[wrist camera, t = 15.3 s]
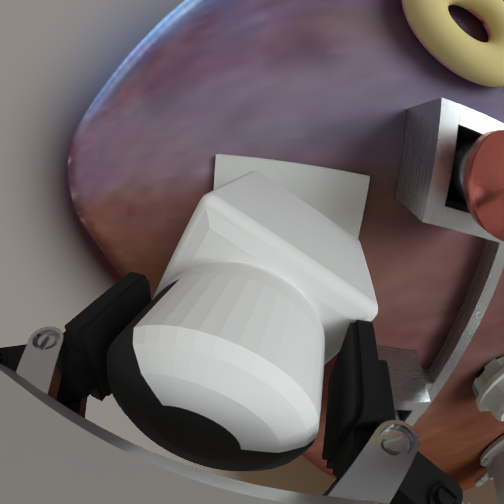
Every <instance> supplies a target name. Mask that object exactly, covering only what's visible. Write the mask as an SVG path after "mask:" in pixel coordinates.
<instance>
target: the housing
mask: <svg viewBox="0 0 504 504" xmlns="http://www.w3.org/2000/svg"><path fill="white" fill-rule="evenodd" d="M496 129H498V130H504V124H503V123H501V122H499V121H497V120H495V119H493V118H491V117H489V116H486V115H484V114H482V113H480V112H477V111H475V110H473V109H470V108H468V107H465V106H463V105H460V104H458V103H455V102H452V101H450V100H447V99H444V98H439V99H436V100H432V101H429V102H426V103H423V104H420V105H417V106H414V107H411V108H408V109H407V118H406V127H405V136H404V143H403V150H402V157H401V163H400V169H399V175H398V181H397V186H396V191H395V196H394V197H395V198H397V199H398V200H399V201H400V202H401V203H402V204H403V205H404V206H405V207H407V208H408V209H409V210H410V211H411V212H412V213H413V214H414V215H415V216H416V217H417V218H418V219H419V220H420V221H422V222H424V223H428V224H432V225H436V226H440V227H444V228H448V229H452V230H456V231H460V232H464V233H467V234H471V235H475V236H478V237H482V238H485V239H486V241H485V244H484V247H483V250H482V253H481V256H480V259H479V262H478V265H477V268H476V271H475V273H474V276H473V279H472V281H471V284H470V286H469V289H468V291H467V294H466V296H465V299H464V301H463V303H462V306H461V308H460V310H459V312H458V315H457V317H456V319H455V321H454V323H453V325H452V327H451V329H450V331H449V333H448V335H447V337H446V339H445V341H444V343H443V345H442V347H441V349H440V351H439V352H438V354H437V356H436V358H435V360H434V361H433V363H432V365H431V366H430V368H429V369H426V368H421V365H420V361H419V358H418V354H417V351H416V350H408V349H399V348H391V347H383V346H377V352H378V358H379V360H385V361H386V362H387V364H388V369H389V375H390V381H391V388H392V395H393V402H394V410H398V414H399V420H400V421H403V422H406V423H408V424H409V425H411V426H413V424H414V423H415V422H416V421H417V419H418V418H419V417H420V416H421V415H422V414H423V413H424V412H425V410H426V409H427V408H428V406H429V405H430V404H431V402H432V401H433V400H434V398H435V397H436V395H437V394H438V393H439V391H440V390H441V388H442V387H443V385H444V384H445V382H446V381H447V379H448V378H449V376H450V375H451V373H452V371H453V370H454V368H455V367H456V365H457V363H458V362H459V360H460V358H461V357H462V355H463V353H464V351H465V350H466V348H467V346H468V344H469V342H470V341H471V339H472V337H473V335H474V333H475V331H476V329H477V327H478V325H479V323H480V321H481V319H482V317H483V315H484V313H485V311H486V309H487V307H488V304H489V302H490V300H491V298H492V295H493V293H494V291H495V288H496V286H497V283H498V281H499V278H500V275H501V273H502V270H503V267H504V241H501V240H499V239H497V238H495V237H494V236H492V235H491V234H490V233H488V232H487V231H485V230H484V229H483V228H481V227H480V226H479V225H478V224H477V223H476V221H475V220H474V219H473V217H472V215H471V213H470V211H469V209H468V206H467V204H466V201H464V200H462V199H461V198H460V199H459V198H455V197H452V196H449V195H447V193H448V188H449V183H450V178H451V172H452V166H453V160H454V154H455V147H456V139H459V140H462V141H464V142H474V143H475V141H476V140H477V139H478V138H479V137H480V136H481V135H483V134H484V133H486V132H488V131H491V130H496Z"/></svg>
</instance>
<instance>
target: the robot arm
mask: <svg viewBox="0 0 504 504" xmlns="http://www.w3.org/2000/svg"><path fill="white" fill-rule="evenodd" d="M150 302H151V295H150V284H149V281H148V280H147V279H146V277H145V276H144V275H142V274H138V273H134V272H130V273H129V274H127V275H126V276H125V277H124V278H122V279H121V280H120V281H119V282H117V283H116V284H115V285H114V286H112V287H111V288H110V289H109V290H107V291H106V292H105V293H104V294H102V295H101V296H100V297H99V298H97V299H96V300H95V301H94V302H93V303H91V304H90V305H89V306H88V307H87V308H85V309H84V310H83V311H82V312H81V313H79V314H78V315H77V316H76V317H75V318H74V319H72V320H71V321H70V322H69V323H67V324H66V325H65V329H66V331H65V332H64V333H62V332H61V330H60V329H58V328H55V327H44V328H41V329H39V330H37V331H35V332H34V333H33V334H32V335H31V337H30V339H29V341H28V343H27V344H26V345H19V346H11V347H4V348H0V504H464V503H463V502H462V499H463V494H462V490H461V487H460V486H459V484H458V483H457V482H456V481H454V480H453V479H452V478H451V477H449V476H448V475H447V474H446V473H444V472H443V471H442V470H440V469H439V468H438V467H437V466H435V465H434V464H433V463H432V462H431V461H429V460H428V459H427V458H426V457H424V456H423V455H422V454H421V453H419V452H418V448H419V444H420V441H419V436H418V434H417V431H416V430H415V429H414V428H413V427H412V426H411V425H409V424H408V423H406V422H403V421H400V420H396V418H395V410H394V402H393V395H392V388H391V381H390V375H389V369H388V364H387V362H386V361H385V360H379V358H378V352H377V346H376V339H375V334H374V328H373V323H372V322H370V321H364V320H358V319H357V320H356V321H355V323H350V324H349V326H348V329H347V332H346V335H345V338H344V341H343V344H342V347H341V349H340V352H339V355H338V357H337V360H336V363H335V365H334V368H333V371H332V373H331V376H330V380H329V388H328V402H327V415H326V426H325V436H324V445H323V454H322V459H323V460H327V466H326V468H331V469H333V474H334V475H335V476H336V477H337V478H336V480H335V481H334V482H333V483H332V484H331V486H330V487H329V488H328V489H327V491H325V493H324V494H323V495H313V494H305V493H298V492H292V491H286V490H280V489H275V488H269V487H264V486H259V485H255V484H250V483H246V482H241V481H237V480H233V479H230V478H226V477H222V476H218V475H215V474H212V473H209V472H205V471H202V470H199V469H196V468H193V467H190V466H187V465H184V464H182V463H179V462H176V461H173V460H171V459H168V458H166V457H163V456H160V455H158V454H156V453H153V452H151V451H148V450H146V449H144V448H142V447H139V446H137V445H135V444H133V443H131V442H129V441H127V440H125V439H122V438H120V437H118V436H116V435H114V434H113V433H111V432H109V431H107V430H105V429H103V428H101V427H99V426H97V425H96V424H94V423H92V422H90V421H89V420H87V419H85V412H86V402H87V397H88V396H89V395H90V394H91V396H93V397H95V398H97V399H99V400H101V401H102V400H103V399H104V398H105V397H106V395H107V396H109V395H110V394H111V393H112V392H111V389H110V386H109V383H108V378H107V365H106V358H107V352H108V349H109V347H110V345H111V343H112V342H113V341H114V339H115V338H116V337H117V336H118V335H119V334H120V333H121V332H122V331H123V330H124V328H125V327H126V326H127V325H128V324H129V323H130V322H131V321H132V320H133V319H134V318H135V317H136V316H137V315H138V314H139V313H140V312H141V311H142V310H143V309H144V308H145V307H146V306H147V305H148V304H149V303H150ZM480 463H481V465H482V466H485V467H486V468H487V469H486V470H485V472H484V474H482V475H481V476H479V477H478V478H477V479H476V480H475V485H476V486H477V487H479V486H481V485H482V484H483V483H485V482H486V481H487V480H493V482H494V487H495V494H496V499H497V504H504V434H503V435H502V436H501V437H499V438H498V439H497V440H496V441H494V442H493V443H492V444H491V445H490V446H489V447H488V448H487V449H486V450H485V451H484V452H483V454H482V455H481V457H480ZM466 504H470V503H469V502H468V503H466Z"/></svg>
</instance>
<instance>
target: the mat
mask: <svg viewBox="0 0 504 504" xmlns="http://www.w3.org/2000/svg"><path fill="white" fill-rule="evenodd" d="M251 171H258V172H260V173H261V174H263V175H264V176H266V177H267V178H269V179H271V180H272V181H274V182H275V183H277V184H278V185H280V186H281V187H283V188H284V189H286V190H288V191H289V192H291V193H292V194H294V195H295V196H297V197H298V198H300V199H301V200H303V201H304V202H306V203H307V204H308V205H310V206H311V207H313V208H314V209H316V210H317V211H319V212H320V213H322V214H323V215H324V216H326V217H327V218H329V219H330V220H332V221H333V222H334V223H336V224H337V225H339V226H340V227H341V228H343V229H344V230H346V231H347V232H348V233H350V234H351V235H352V236H354V237H355V238H357V239H358V236H359V232H360V227H361V222H362V218H363V213H364V208H365V202H366V197H367V192H368V186H369V180H370V176H368V175H363V174H358V173H353V172H348V171H343V170H337V169H332V168H326V167H320V166H314V165H308V164H301V163H295V162H288V161H280V160H273V159H264V158H256V157H247V156H237V155H226V154H216V161H215V175H214V190H215V189H217V188H219V187H221V186H223V185H225V184H227V183H229V182H231V181H233V180H235V179H237V178H239V177H241V176H243V175H245V174H247V173H249V172H251Z"/></svg>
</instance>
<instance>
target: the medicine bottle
mask: <svg viewBox="0 0 504 504" xmlns="http://www.w3.org/2000/svg"><path fill="white" fill-rule="evenodd" d="M377 313H378V305H377V301H376V297H375V293H374V289H373V285H372V281H371V278H370V274H369V271H368V267H367V264H366V260H365V257H364V254H363V250H362V247H361V244H360V241H359V240H358V239H357V238H355V237H354V236H352V235H351V234H350V233H348V232H347V231H346V230H344V229H343V228H341V227H340V226H339V225H337V224H336V223H334V222H333V221H332V220H330V219H329V218H327V217H326V216H324V215H323V214H322V213H320V212H319V211H317V210H316V209H314V208H313V207H311V206H310V205H308V204H307V203H306V202H304V201H303V200H301V199H300V198H298V197H297V196H295V195H294V194H292V193H291V192H289V191H288V190H286V189H284V188H283V187H281V186H280V185H278V184H277V183H275V182H274V181H272V180H271V179H269V178H267V177H266V176H264V175H263V174H261V173H260V172H258V171H251V172H249V173H247V174H245V175H243V176H241V177H239V178H237V179H235V180H233V181H231V182H229V183H227V184H225V185H223V186H221V187H219V188H217V189H215V190H213V191H211V192H209V193H207V194H205V195H204V196H203V197H202V198H201V200H200V202H199V203H198V205H197V207H196V209H195V211H194V213H193V215H192V217H191V219H190V221H189V223H188V225H187V227H186V229H185V231H184V233H183V235H182V237H181V239H180V241H179V243H178V245H177V247H176V249H175V251H174V253H173V256H172V258H171V260H170V262H169V264H168V266H167V268H166V270H165V273H164V275H163V277H162V279H161V281H160V283H159V286H158V288H157V290H156V292H155V295H154V297H153V299H152V301H151V302H150V303H149V304H148V305H147V306H146V307H145V308H144V309H143V310H142V311H141V312H140V313H139V314H138V315H137V316H136V317H135V318H134V319H133V320H132V321H131V322H130V323H129V324H128V325H127V326H126V327H125V328H124V330H123V331H122V332H121V333H120V334H119V335H118V336H117V337H116V338H115V339H114V341H113V342H112V343H111V345H110V347H109V349H108V352H107V358H106V365H107V378H108V383H109V386H110V389H111V392H112V394H113V396H114V398H115V399H116V401H117V403H118V405H119V406H120V407H121V409H122V410H123V411H124V413H125V414H126V415H127V416H128V417H129V419H130V420H131V421H132V422H133V423H134V424H135V425H136V426H137V427H138V428H139V430H141V431H142V432H143V433H144V434H145V435H146V436H147V437H148V438H150V439H151V440H152V441H154V442H155V443H156V444H158V445H159V446H161V447H163V448H164V449H166V450H168V451H169V452H171V453H173V454H175V455H177V456H179V457H181V458H184V459H186V460H188V461H191V462H193V463H196V464H200V465H203V466H206V467H210V468H215V469H221V470H229V471H259V470H267V469H273V468H276V467H279V466H282V465H285V464H287V463H289V462H291V461H292V460H294V459H295V458H297V457H298V456H299V455H301V454H302V453H304V452H305V451H306V450H307V449H308V448H309V447H310V446H311V445H312V444H313V442H314V440H315V439H316V437H317V433H318V430H319V422H320V412H321V402H322V390H323V378H324V365H325V364H326V363H327V362H328V361H330V360H331V359H332V358H333V357H334V356H335V355H336V354H337V353H338V352H340V349H341V347H342V344H343V341H344V338H345V335H346V332H347V329H348V326H349V324H350V323H355V321H356V320H357V319H358V320H364V321H370V322H371V321H372V320H373V319H374V318H375V317H376V315H377Z"/></svg>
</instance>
